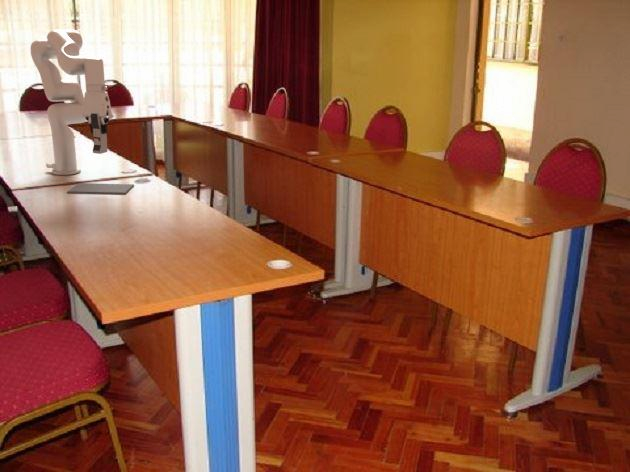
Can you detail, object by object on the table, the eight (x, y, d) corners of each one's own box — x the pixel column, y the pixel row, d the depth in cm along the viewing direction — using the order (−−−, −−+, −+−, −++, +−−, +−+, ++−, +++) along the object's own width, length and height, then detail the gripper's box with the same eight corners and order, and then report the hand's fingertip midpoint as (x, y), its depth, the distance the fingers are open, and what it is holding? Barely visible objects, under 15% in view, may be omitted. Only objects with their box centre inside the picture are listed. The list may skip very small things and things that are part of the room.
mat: (67, 193, 277) (67, 191, 277) (78, 184, 290) (78, 183, 290) (125, 194, 277) (125, 192, 277) (133, 186, 291) (133, 184, 290)
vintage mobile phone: (92, 153, 282) (88, 92, 274) (100, 151, 286) (96, 91, 278) (99, 154, 280) (95, 93, 272) (107, 152, 285) (103, 92, 277)
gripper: (118, 88, 276) (121, 133, 282) (82, 86, 280) (86, 130, 286) (109, 90, 269) (112, 135, 275) (72, 88, 273) (76, 133, 279)
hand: (99, 132), depth 280 cm, fingers closed on vintage mobile phone, 4 cm apart
